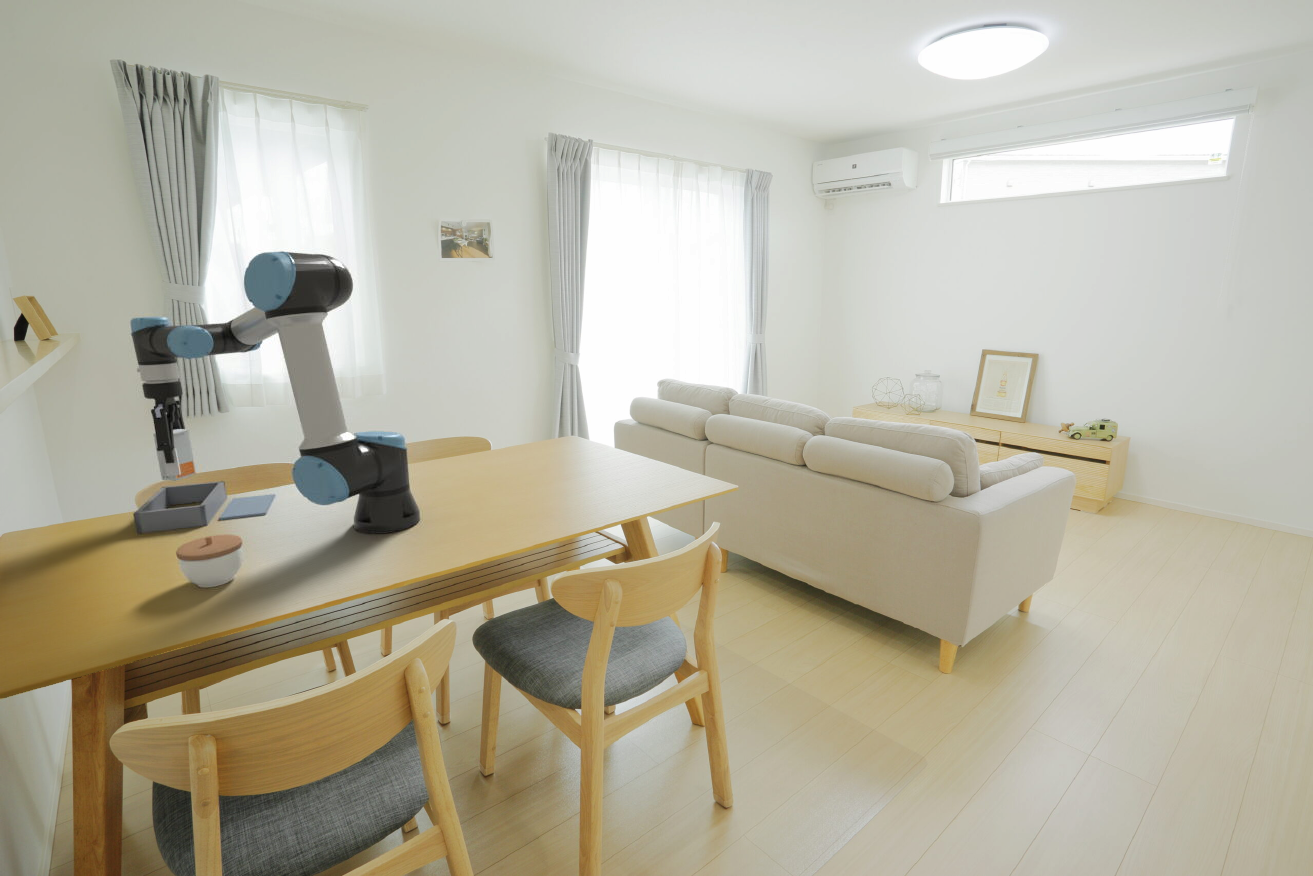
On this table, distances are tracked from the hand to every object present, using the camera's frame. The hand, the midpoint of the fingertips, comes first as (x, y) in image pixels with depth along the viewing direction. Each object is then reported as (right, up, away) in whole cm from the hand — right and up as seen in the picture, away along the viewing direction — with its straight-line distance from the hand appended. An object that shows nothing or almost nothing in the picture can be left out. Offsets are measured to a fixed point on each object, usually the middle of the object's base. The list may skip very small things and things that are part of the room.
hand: (178, 470), depth 159 cm
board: (+13, -10, +8) cm, 18 cm away
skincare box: (0, -2, 0) cm, 2 cm away
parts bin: (0, -11, +3) cm, 12 cm away
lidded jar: (+33, -20, -33) cm, 51 cm away
